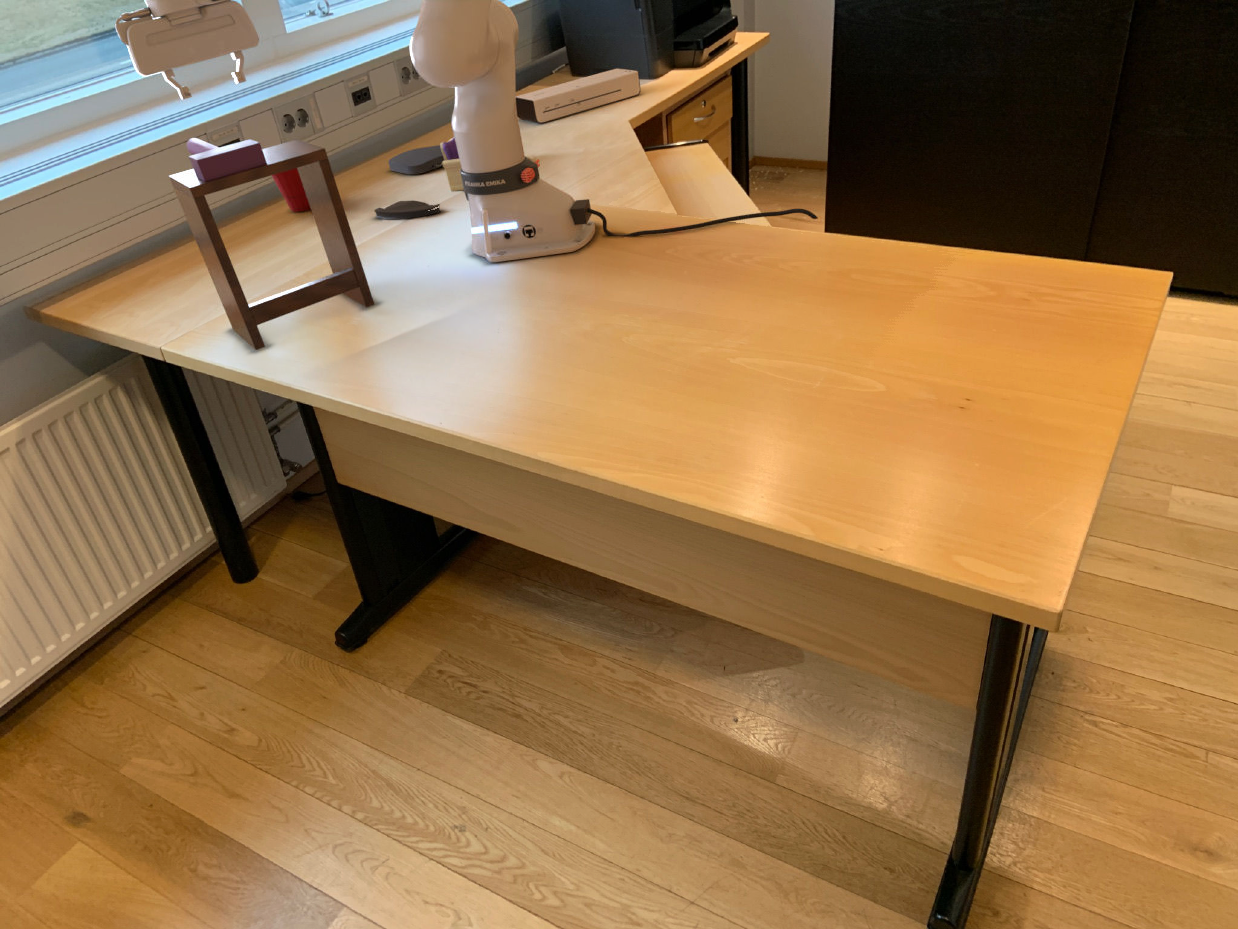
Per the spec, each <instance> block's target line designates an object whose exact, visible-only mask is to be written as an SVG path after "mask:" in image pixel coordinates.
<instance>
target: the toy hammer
mask: <svg viewBox="0 0 1238 929" xmlns="http://www.w3.org/2000/svg"><path fill="white" fill-rule="evenodd" d="M186 149H187V151H188V152H189V153H190V154H191V155H188V160H189V161H190V164H191V166H192V169H194V172H195V174H196V176H197V178H199V179H201V180H203V181H205V182H207V181H210V180H214V179H217V178H221V177H224V176H227V175H231V174H234V173H238V172H241V171H245V170H248V169H251V168H255V167H258V166H262V165H265V164H267V162H266V159H265V156H264V153H263V150H262V149H263V148H262V145H261V143H260V142H259V141H256V140H254V139H251V138H249V139H246V140H243V141H239V142H238V141H237V142H235V143H231V144H227V145H224V146H220V147H219V146H218V145H217V146H216V145H214V144H213V143H210V142H207V141H205V140H203V139H200V138H197V137H192V138H189V139H188V141H187V142H186Z"/></svg>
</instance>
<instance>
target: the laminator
mask: <svg viewBox="0 0 1238 929" xmlns="http://www.w3.org/2000/svg"><path fill="white" fill-rule="evenodd" d="M640 93H641V81H640V73H639V71H638V70H633V69H627V68H626V69H625V68H618V67H617V68H614V69H610V70H606V71H602V72H599V73H596V74H592V75H589V76H584V77H581V78H577V79H573V80H570V81H566V82H563V83H560V84H556V85H552V86H549V87H545V88H540V89H537V90H534V91H530V92H526V93H523V94H520V95H516V109H517V117H518V120H519V119H520V120H526V121H530V122H534V123H537V124H546V123H549V122H553V121H556V120H559V119H563V118H566V117H569V116H570V117H571V116H572V115H576V114H580V113H582V112H583V113H584V112H586V111H589V110H593V109H597V108H599V107H603V106H608V105H609V104H610V105H611V104H615V103H617V102H620V101H624V100H627V99H631V98H634V97H637V96H638V95H640Z"/></svg>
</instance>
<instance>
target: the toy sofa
mask: <svg viewBox="0 0 1238 929" xmlns="http://www.w3.org/2000/svg"><path fill="white" fill-rule="evenodd" d="M439 145H440V147H441V151H442V153H443V156H444V160H445V161H443V166H442V167H443V168H444V171H445V174H446V178H447V181H448V185H449V189H450V192H456V191H464V189H463V185H462V179H461V174H460V170H461V168H462V167H461V163H460V159H459V155H458V150H457V146H456V142H455V138H454V135H453V136H452V137H451V138H450V139H448V140H447V141H441V142H440V144H439Z"/></svg>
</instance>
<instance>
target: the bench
mask: <svg viewBox="0 0 1238 929" xmlns="http://www.w3.org/2000/svg"><path fill="white" fill-rule="evenodd" d="M262 150H263V153H264V156H265V159H266V162H267V164H265V165H262V166H258V167H255V168H251V169H248V170H245V171H241V172H238V173H234V174H231V175H227V176H224V177H221V178H217V179H214V180H210V181H207V182H205V181H203V180H201V179H199V178H197V176H196V174H195V172H194V169H193V168H192V169H191V168H190V169H187V170H185V171H181V172H178V173H174V174H170V175H168V178H169V181H170V184H171V185H172V188H173V190H174V193H175V194H176V197H177V200H178V202H179V204H180V207H181V209H182V212H183V214H184V216H185V219H186V221H187V223H188V225H189V228H190V230H191V233H192V235H193V237H194V240H195V242H196V245H197V247H198V249H199V252H200V254H201V256H202V260H203V262H204V263H205V266H206V269H207V271H208V273H209V276H210V278H211V281H212V283H213V285H214V287H215V290H216V293H217V295H218V297H219V299H220V302H221V304H222V306H223V309H224V311H225V314H226V316H227V319H228V321H229V323H230V327H231V328H232V330H233V332H235V333H236V334H237V335H238V336H239V337H241V338H242V339H243V340H244V341H245V342H246V343H247V344H248V345H250V346H251V348H252V349H254V350H255V351H257V350H260V349H263V348H265V347H266V345H265V342H264V339H263V337H262V335H261V333H260V330H259V328H258V326H259V325H261V324H265V323H267V322H270V321H273V320H275V319H278V318H281V317H283V316H285V315H288V314H291V313H294V312H296V311H299V310H302V309H305V308H307V307H310V306H312V305H315V304H318V303H321V302H324V301H327V300H329V299H331V298H334V297H336V296H339V295H342V294H344V295H345V296H347V297H348V298H350V299H352V300H353V301H355V302H357V303H358V304H360V305H361V306H363V307H364V308H369V307H372V306H375V301H374V298H373V295H372V292H371V289H370V285H369V282H368V279H367V276H366V273H365V270H364V267H363V264H362V261H361V260H362V259H361V257H360V254H359V251H358V247H357V245H356V241H355V239H354V236H353V232H352V229H351V226H350V223H349V220H348V217H347V214H346V210H345V207H344V204H343V201H342V197H341V194H340V192H339V188H338V185H337V182H336V179H335V176H334V172H333V170H332V167H331V163H330V160H329V156H328V154H327V151H326V148H325V147H322V146H318V145H316V144H313V143H309V142H306V141H303V140H300V139H294V140H290V141H286V142H284V143H279V144H276V145H272V146H269V147H265V148H262ZM295 168H297V169H298V172H299V175H300V178H301V181H302V184H303V187H304V190H305V193H306V196H307V199H308V202H309V205H310V208H311V209H310V210H311V214H312V216H313V219H314V222H315V225H316V228H317V231H318V233H319V237H320V240H321V243H322V246H323V249H324V252H325V254H326V258H327V261H328V263H329V266H330V269H331V273H332V274H328V275H326V276H323V277H320V278H318V279H314V280H313V281H309V282H307V283H304V284H301V285H298V286H296V287H293V288H289V289H287V290H285V291H281V292H279V293H276V294H273V295H271V296H267V297H264V298H262V299H260V300H257V301H254V302H252V303H249V302H248V300H247V298H246V295H245V292H244V290H243V288H242V285H241V283H240V280H239V277H238V275H237V273H236V269H235V268H234V266H233V263H232V260H231V257H230V255H229V253H228V251H227V248H226V246H225V243H224V240H223V239H222V235H221V233H220V231H219V228H218V225H217V223H216V221H215V218H214V216H213V213H212V211H211V209H210V206H209V203H208V201H207V199H206V196H208V195H210V194H214V193H218V192H220V191H224V190H227V189H231V188H234V187H238V186H241V185H245V184H247V183H251V182H255V181H257V180H262V179H264V178H267V177H272V176H271V175H274V174H278V173H281V172H285V171H288V170H291V169H295Z"/></svg>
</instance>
